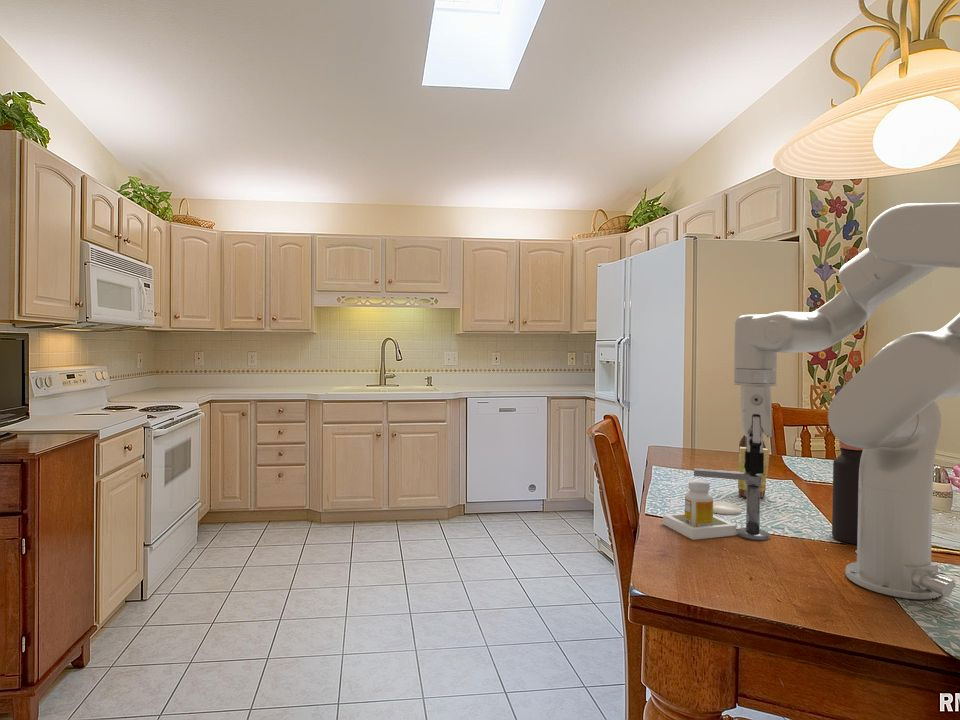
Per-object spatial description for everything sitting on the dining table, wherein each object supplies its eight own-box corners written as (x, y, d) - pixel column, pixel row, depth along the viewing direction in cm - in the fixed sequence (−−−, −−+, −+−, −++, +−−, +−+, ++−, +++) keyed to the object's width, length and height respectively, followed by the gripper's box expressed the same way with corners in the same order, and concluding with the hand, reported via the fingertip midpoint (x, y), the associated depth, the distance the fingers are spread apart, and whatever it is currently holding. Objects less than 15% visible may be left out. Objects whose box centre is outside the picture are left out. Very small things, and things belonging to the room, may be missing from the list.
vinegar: (833, 531, 117) (835, 433, 117) (873, 538, 113) (876, 436, 113) (830, 541, 112) (832, 437, 111) (873, 548, 108) (875, 440, 107)
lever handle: (768, 486, 112) (768, 450, 112) (693, 480, 117) (694, 446, 117) (766, 483, 115) (767, 448, 115) (694, 477, 120) (694, 443, 120)
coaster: (748, 513, 130) (748, 509, 130) (718, 515, 128) (718, 512, 128) (724, 503, 138) (724, 500, 138) (695, 505, 135) (695, 502, 135)
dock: (736, 535, 115) (736, 525, 115) (692, 539, 112) (692, 529, 112) (704, 520, 124) (704, 511, 124) (663, 524, 122) (663, 514, 122)
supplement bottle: (717, 529, 118) (717, 482, 118) (706, 535, 115) (707, 487, 114) (691, 523, 122) (691, 478, 122) (680, 529, 118) (680, 482, 118)
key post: (776, 539, 113) (777, 488, 112) (750, 541, 111) (751, 490, 111) (754, 529, 118) (755, 480, 118) (729, 532, 117) (730, 482, 116)
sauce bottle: (762, 501, 140) (763, 418, 139) (734, 496, 144) (736, 416, 143) (768, 495, 145) (769, 416, 144) (741, 491, 149) (742, 414, 148)
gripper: (781, 380, 105) (779, 482, 105) (772, 376, 120) (770, 464, 120) (735, 379, 108) (734, 478, 108) (732, 375, 123) (731, 461, 123)
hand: (753, 470), depth 114 cm, fingers open, 2 cm apart
